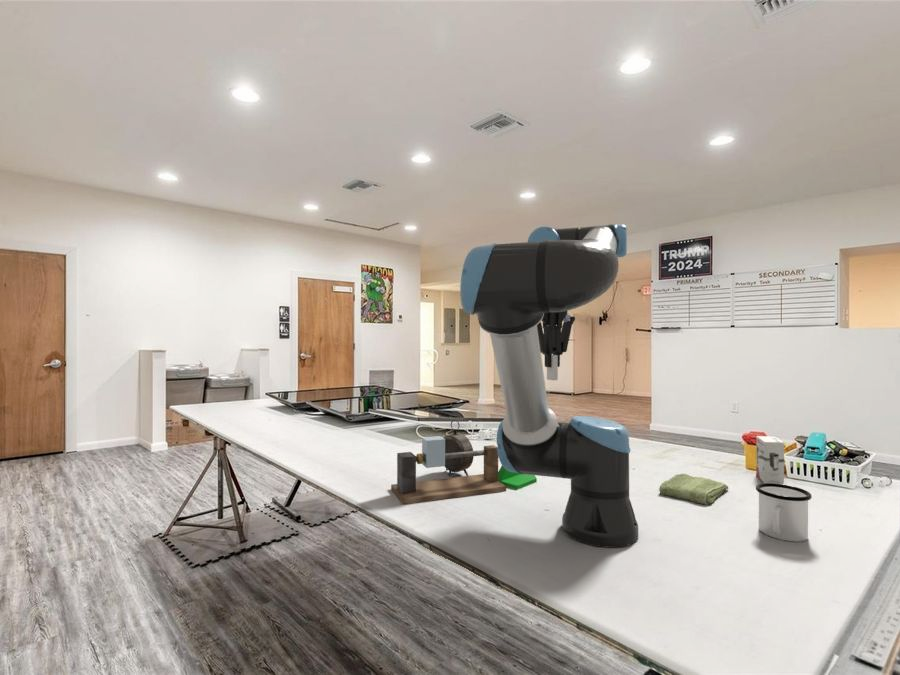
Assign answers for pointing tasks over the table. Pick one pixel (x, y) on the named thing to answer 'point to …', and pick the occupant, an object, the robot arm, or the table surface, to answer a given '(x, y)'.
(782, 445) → the ink box
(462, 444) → the alarm clock
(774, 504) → the mug
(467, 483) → the wooden slider rail stand
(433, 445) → the light blue block
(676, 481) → the washcloth
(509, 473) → the bracket
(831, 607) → the table surface
